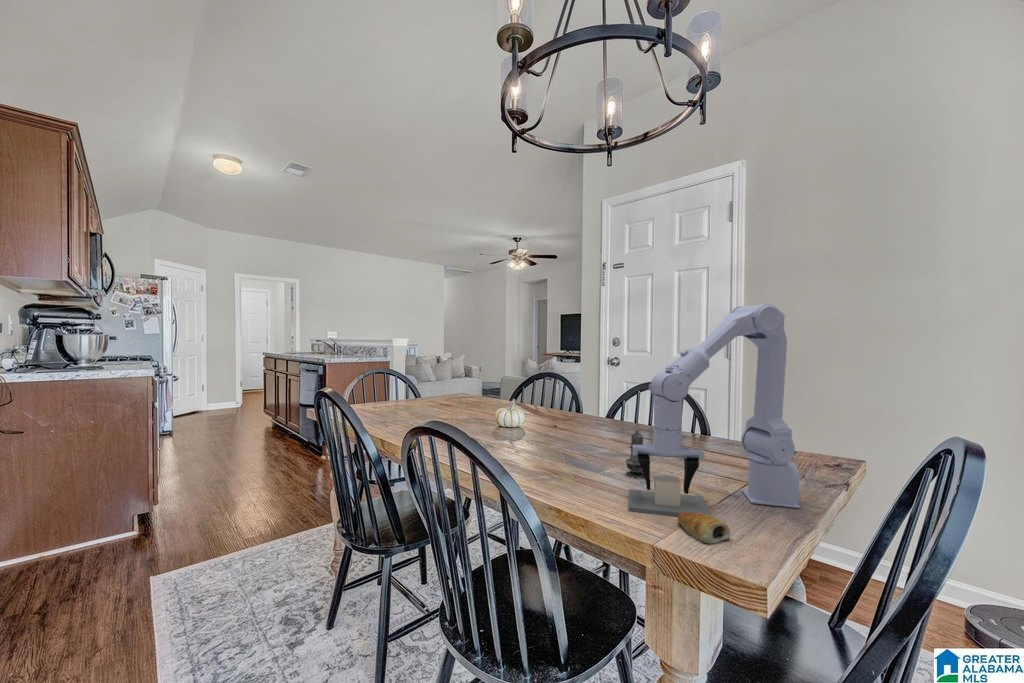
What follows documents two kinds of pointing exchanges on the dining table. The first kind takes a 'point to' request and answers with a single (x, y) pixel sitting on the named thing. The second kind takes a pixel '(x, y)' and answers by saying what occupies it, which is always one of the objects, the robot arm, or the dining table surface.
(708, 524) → the pastry
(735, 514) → the dining table surface
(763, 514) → the dining table surface
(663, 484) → the block
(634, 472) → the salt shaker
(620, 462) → the dining table surface
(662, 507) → the board
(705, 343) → the robot arm
